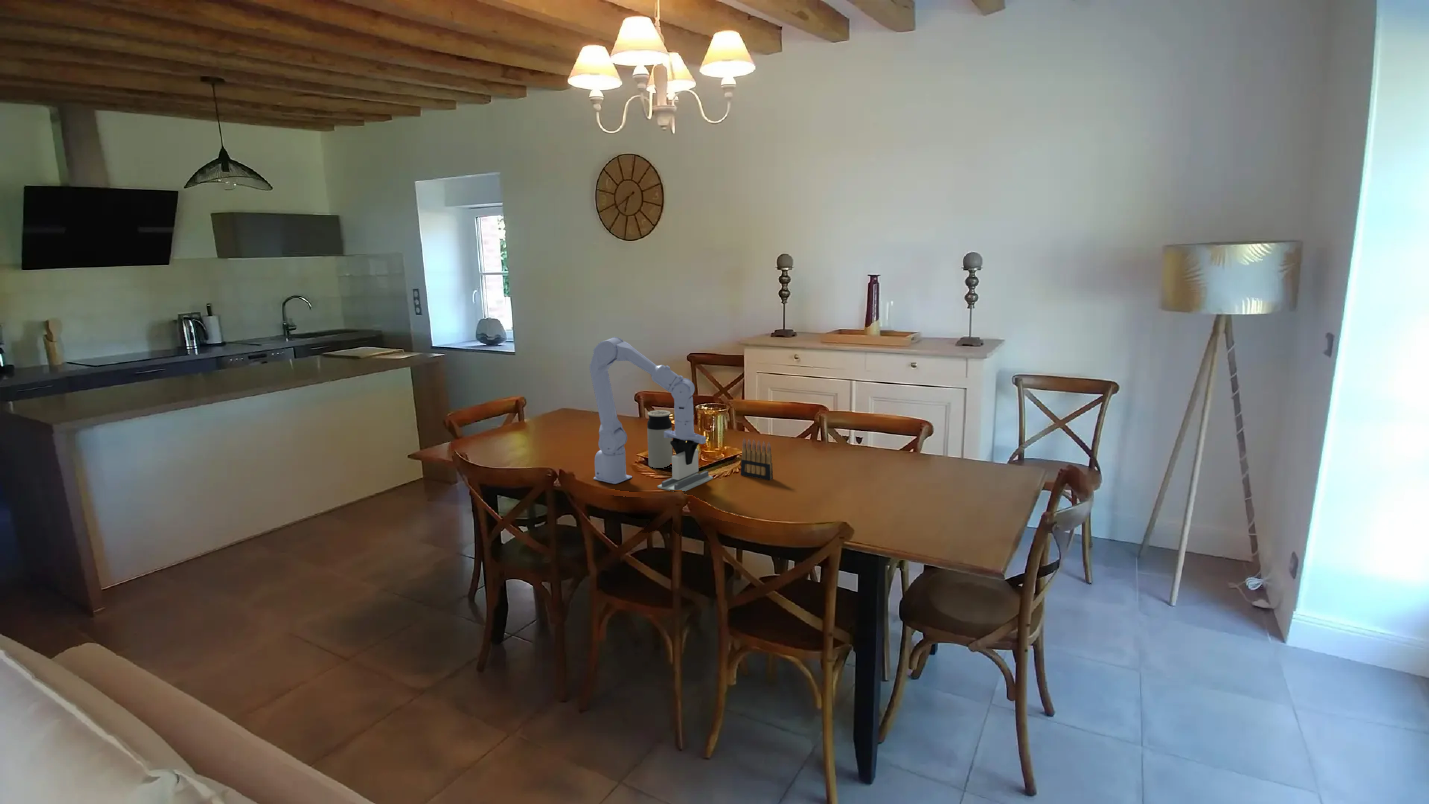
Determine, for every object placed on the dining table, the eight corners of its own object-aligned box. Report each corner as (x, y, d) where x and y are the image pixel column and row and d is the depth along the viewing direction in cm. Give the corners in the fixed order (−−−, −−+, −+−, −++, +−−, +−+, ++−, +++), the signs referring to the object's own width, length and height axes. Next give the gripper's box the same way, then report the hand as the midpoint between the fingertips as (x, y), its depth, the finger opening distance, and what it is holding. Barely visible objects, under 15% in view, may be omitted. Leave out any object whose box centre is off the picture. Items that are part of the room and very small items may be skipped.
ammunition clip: (740, 474, 230) (740, 438, 228) (743, 473, 232) (743, 436, 229) (770, 480, 224) (770, 442, 222) (773, 478, 226) (773, 441, 223)
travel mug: (671, 469, 237) (670, 415, 233) (647, 469, 237) (645, 415, 234) (673, 461, 245) (672, 409, 241) (650, 462, 245) (648, 410, 241)
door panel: (672, 478, 219) (671, 456, 218) (692, 470, 227) (691, 448, 226) (678, 480, 218) (678, 457, 216) (698, 471, 226) (698, 449, 224)
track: (657, 487, 219) (657, 481, 219) (689, 473, 232) (689, 467, 231) (681, 493, 214) (681, 486, 214) (712, 478, 227) (712, 472, 226)
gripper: (711, 420, 218) (712, 463, 221) (673, 414, 226) (674, 456, 229) (697, 425, 212) (698, 469, 215) (658, 418, 220) (660, 461, 223)
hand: (685, 463), depth 222 cm, fingers closed on door panel, 2 cm apart
